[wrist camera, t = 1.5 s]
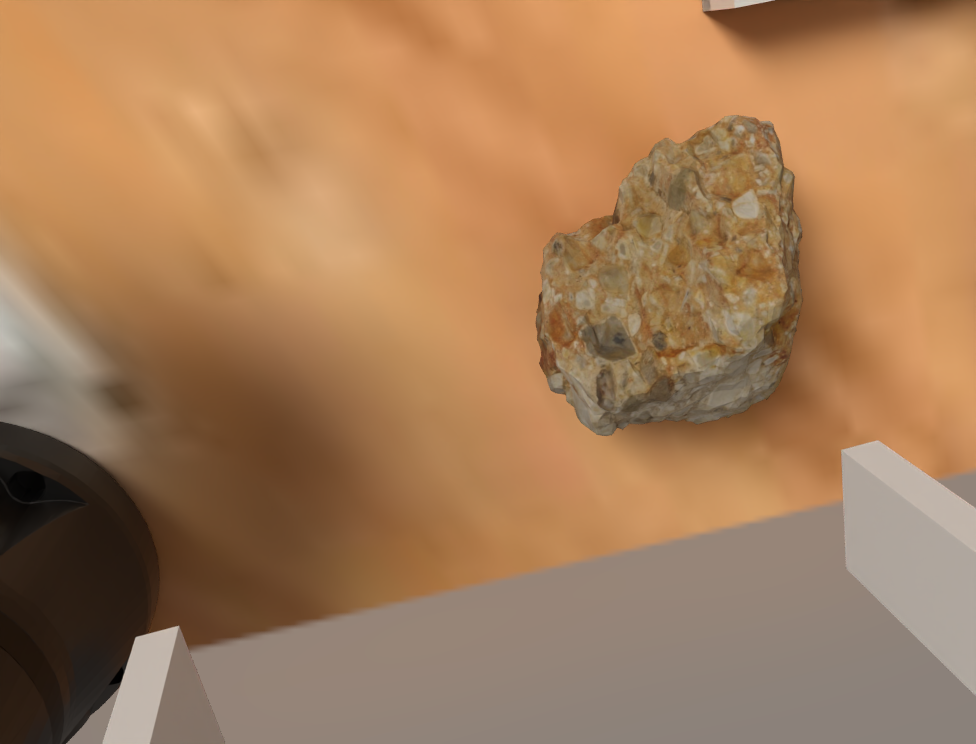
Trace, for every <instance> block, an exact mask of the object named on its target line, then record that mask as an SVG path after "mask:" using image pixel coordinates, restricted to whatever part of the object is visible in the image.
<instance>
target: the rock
mask: <svg viewBox="0 0 976 744" xmlns="http://www.w3.org/2000/svg"><path fill="white" fill-rule="evenodd" d="M794 177H795V176H794V174H793V172H792V171H790V170H788V169H786V168H785V167H784V164H783V159H782V153H781V147H780V141H779V139H778V137H777V135H776V133H775V131H774V126H773V124H772V123H771V122H770V121H759V120H757V119H756V118H754V117H746V116H739V115H734V116H725V117H724V118H723V119H721V120H720V121H719V122H717V123H716V124H715V125H713V126H711V127H708V128H706V129H703V130H700V131H698V132H696V133H695V134H694V135H693V136H692V137H691V138H690V139H688V140H687V141H685V142H683V143H681V144H676V143H675V142H673V141H672V140H670V139H669V138H665V139H663V140H662V141H660V142H658V143H657V144H655V145H654V147H653V149H652V150H651V152H650V154H649V156H648V157H646V158H643V159H641V160H640V161H638V162H637V163H636V164H634V166H633V168H632V170H631V172H630V174H629V175H628V176H627V177H626V178H625V179H623V181H622V183H621V185H620V187H619V195H618V199H617V203H616V207H615V211H614V214H613V215H612V216H604V217H602V218H598V219H593V220H591V221H589V222H588V223H586V224H584V225H583V226H582V227H581V228H580V229H579V230H578V231H577V232H574V233H571V234H567V235H566V234H563V233H556V234H555V235H554V236H553V237H552V238H551V240H550V242H549V243H548V244H547V245H546V246H545V248H544V249H543V265H542V269H541V276H542V292H541V293H540V295H539V304H538V309H537V316H536V328H537V332H538V333H537V341H538V342H539V345H540V348H541V359H540V363H539V364H540V366H541V368H542V370H543V372H544V373H545V375H546V377H547V381H548V384H549V387H550V390H551V391H553V392H555V393H558V394H565V395H566V400H567V402H568V403H569V404H571V405H572V406H573V407H574V408H575V411H576V414H577V417H578V419H579V420H580V422H581V423H582V424H583V425H585V426H586V427H588V428H589V429H590V430H592V431H593V432H594V433H596V434H597V435H602V436H608V435H612V434H613V433H614V431H615V430H616V428H620V429H624V428H625V427H626V426H627V425H628V424H645V423H649V422H661V421H663V420H664V419H666V420H671V421H680V420H683V419H684V420H686V421H691V422H693V423H695V424H701V423H704V422H708V421H713V420H718V419H720V418H721V417H728V418H729V417H730V416H731V415H733V414H738V413H742V412H744V411H746V410H747V409H748V408H749V407H750V406H751V405H752V404H755V403H757V402H759V401H762V400H763V399H768V398H769V396H770V394H772V393H773V392H774V391H775V389H776V388H777V387H778V385H779V383H780V381H781V379H782V375H783V373H784V371H785V369H786V366H787V364H788V360H789V357H790V353H791V349H792V343H793V336H794V334H795V332H796V325H797V322H798V318H799V314H800V308H801V305H802V302H803V298H802V290H801V285H800V277H799V270H798V264H799V249H798V244H799V242H800V240H801V238H802V229H801V224H800V220H799V218H798V216H797V215H796V213H795V211H794V210H793V190H794Z"/></svg>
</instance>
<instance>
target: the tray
mask: <svg viewBox="0 0 976 744" xmlns="http://www.w3.org/2000/svg"><path fill="white" fill-rule="evenodd" d="M768 1H773V0H702V7H703V12H704V11H713V10H722V9H731V8H738V7H743V6H748V5H753V4H758V3H763V2H768Z"/></svg>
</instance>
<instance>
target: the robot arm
mask: <svg viewBox="0 0 976 744" xmlns="http://www.w3.org/2000/svg"><path fill="white" fill-rule="evenodd" d="M841 455H842V480H843V504H844V528H845V554H846V569H847V570H848V571H849V572H850V573H851V574H852V575H853V576H854V577H855V578H856V579H857V580H858V581H859V582H860V583H861V584H863V586H865V587H866V588H867V589H868V590H869V591H870V592H871V593H872V594H873V595H874V596H875V597H876V598H877V599H878V600H879V601H880V602H881V603H882V604H883V605H884V606H885V607H886V608H887V609H888V610H889V611H890V612H891V613H892V614H893V615H894V616H895V617H896V618H897V619H898V620H899V621H900V622H901V623H902V624H903V625H904V626H905V627H906V628H907V629H909V631H910V632H911V633H912V634H913V635H914V636H916V638H917V639H919V640H920V642H921V643H922V644H924V645H925V646H926V647H927V648H928V649H929V650H930V651H931V652H932V653H933V654H934V655H935V656H936V657H937V658H938V659H939V660H940V661H941V662H942V663H943V664H944V665H945V666H946V667H947V668H948V669H949V670H950V671H951V672H952V673H953V674H954V675H955V676H956V677H957V678H958V679H959V680H960V681H961V682H962V683H963V684H964V685H965V686H966V687H967V688H968V689H969V690H970V691H971V692H972V693H973V694H974V695H975V696H976V508H974V507H973V506H972V505H970V504H969V503H967V502H966V501H964V500H963V499H962V498H960V497H958V496H957V495H956V494H954V493H953V492H952V491H950V490H949V489H947V488H946V487H944V486H943V485H942V484H940V483H939V482H937V481H936V480H934V479H933V478H931V477H930V476H929V475H927V474H926V473H924V472H923V471H921V470H920V469H919V468H917V467H916V466H914V465H913V464H911V463H910V462H908V461H907V460H906V459H904V458H903V457H901V456H900V455H898V454H897V453H896V452H894V451H893V450H891V449H890V448H888V447H887V446H885V445H884V444H883V443H881V442H880V441H878V440H877V441H873V442H870V443H866V444H862V445H858V446H855V447H851V448H847V449H843V450H841ZM158 592H159V566H158V559H157V554H156V550H155V546H154V543H153V540H152V537H151V534H150V532H149V530H148V527H147V525H146V523H145V521H144V519H143V517H142V515H141V514H140V512H139V510H138V509H137V507H136V506H135V504H134V503H133V502H132V500H131V499H130V498H129V496H128V495H127V494H126V492H125V491H124V490H123V489H122V488H121V487H120V486H119V484H118V483H117V482H116V481H115V480H113V479H112V478H111V477H110V476H109V475H108V474H107V473H106V472H105V471H104V470H102V469H101V468H100V467H99V466H98V465H96V464H95V463H94V462H92V461H91V460H90V459H88V458H87V457H85V456H84V455H82V454H81V453H79V452H77V451H76V450H74V449H72V448H70V447H69V446H67V445H65V444H63V443H61V442H59V441H57V440H55V439H53V438H51V437H48V436H46V435H43V434H41V433H38V432H35V431H32V430H29V429H26V428H23V427H19V426H16V425H12V424H8V423H3V422H0V744H66V743H67V742H68V741H69V740H70V739H71V738H72V737H73V736H74V735H75V734H76V733H77V731H78V730H79V729H80V728H81V727H82V726H83V725H84V724H85V722H86V721H87V720H88V718H89V717H90V715H91V714H92V713H94V712H95V711H96V710H98V709H99V708H100V707H101V706H102V705H103V704H104V703H105V702H106V701H107V700H108V699H109V698H110V697H111V696H112V695H113V694H114V692H115V691H116V690H117V689H118V688H119V687H120V689H119V692H118V695H117V698H116V701H115V704H114V708H113V711H112V714H111V717H110V720H109V723H108V726H107V729H106V733H105V736H104V739H103V742H102V744H225V741H224V738H223V736H222V733H221V731H220V728H219V726H218V723H217V721H216V718H215V716H214V713H213V710H212V708H211V705H210V703H209V700H208V698H207V695H206V693H205V690H204V688H203V685H202V683H201V680H200V678H199V675H198V672H197V670H196V667H195V665H194V662H193V660H192V657H191V655H190V652H189V650H188V647H187V645H186V642H185V640H184V637H183V634H182V632H181V629H180V627H179V626H176V627H172V628H168V629H165V630H161V631H157V632H153V633H150V634H148V631H149V628H150V625H151V622H152V619H153V616H154V612H155V609H156V604H157V600H158Z"/></svg>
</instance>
